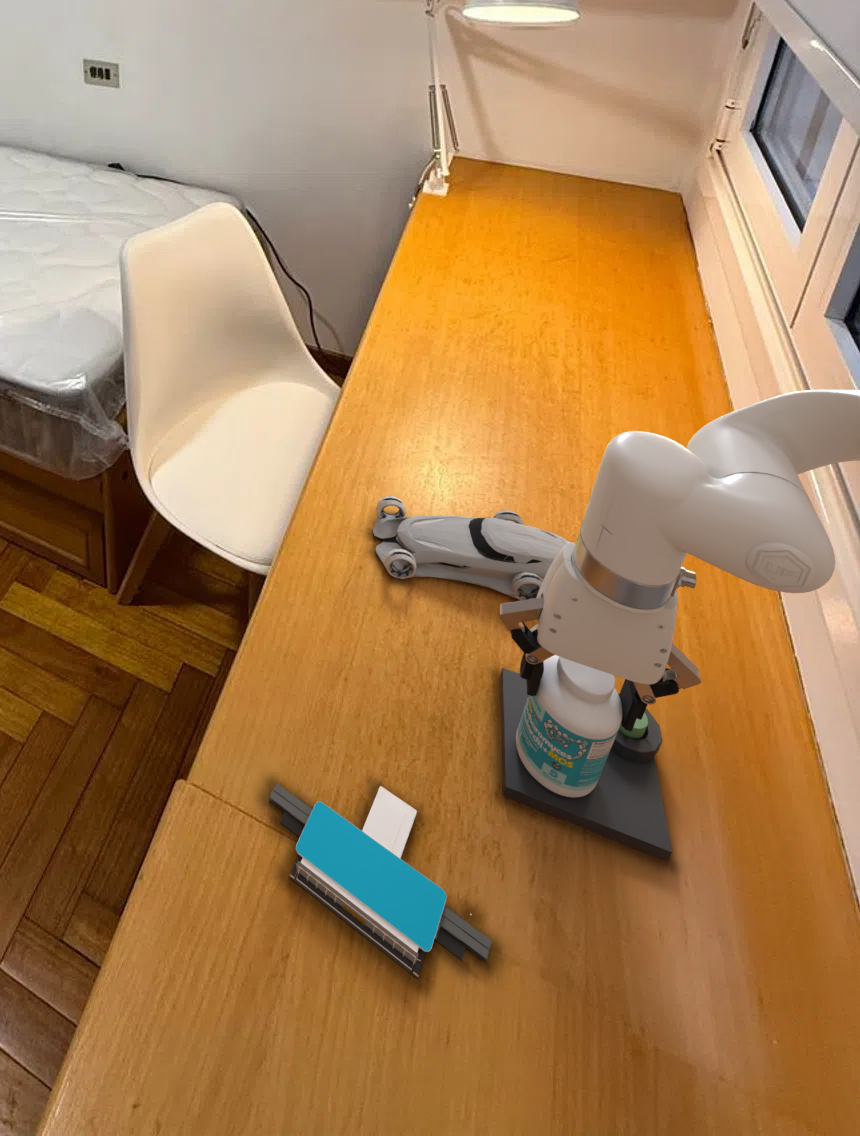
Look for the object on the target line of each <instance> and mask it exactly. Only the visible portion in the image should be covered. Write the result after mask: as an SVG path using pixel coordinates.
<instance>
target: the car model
mask: <svg viewBox="0 0 860 1136" xmlns="http://www.w3.org/2000/svg"><path fill="white" fill-rule="evenodd" d="M390 506H391V507H396V509H398V511H397V512H395V513H388V512H386V511H385V510H384V509H386V508H387V507H390ZM406 507H407V506H405V504H404V502H403V501H402V500H401V498H399V497H398V496H393V495H385V496H383V497H381V498H380V499H379V500H378V502H377V505H376V520H375V523H374V526H373V530H372V533H373V535H374V537H375V538H377V539H379V540H381V541H382V542H381V543H379V544H377V545H376V546H375V553H376V555H377V556H378V558H379V559H380V561H381V563H382V564H383V565H384V568H385V569H386V571H387V573H388V574H389V575H390V576H391V577H393V578H395V579H400V580H404V579H409V578H435V579H443V580H451V581H459V582H463V583H468V584H472V585H476V586H481V587H485V588H489V589H492V590H494V591H497V592H499V593H501V594H504V595H506V596H508V597H512V598H514V599H515V600H516V599H517V600H518V601H521V600H528V599H534V598H536V597H537V594H538V592H539V589H540V587H541V584H542V582H543V580H544V578H545V576H546V573H547V571H548V569H549V568H550V566H551V564H552V562H553V560H554V559H555V557H556V556H557V554H558V553H559V551H560V550H561V549H562V548H563V546H564V545H565V544H566V543H568V542H570V541H569V540H567V539H566V538H564V537H563V536H560V535H559V534H556V533H554V532H551V531H548V530H544V529H542V528H538V527H535V526H531V525H526V524H525V523H524V521H523V518H522V517H521V516H520V515H519V514H518V513H517V512H515V511H513V510H509V509H503V510H499V511H498V512H496V513H495V514H494V515H493V517H476V516H475V517H474V516H463V515H447V514H445V515H442V514H440V515H439V514H438V515H436V514H435V515H413V516H406V514H407V508H406Z"/></svg>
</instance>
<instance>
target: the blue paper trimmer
mask: <svg viewBox="0 0 860 1136" xmlns="http://www.w3.org/2000/svg"><path fill="white" fill-rule="evenodd" d="M268 801H269V802H271V803H272V804H273V805H274V806H276V807H277V808H279V809H280V810H281V811H283V814H282V816H281V818H280V820H279V823H280V824H281V825H283V826H284V827H285V828H287V829H288V830H289V831H291V832H292V833H293V834H295V836H297V837H298V840H297V842H296V845H295V851H296V853H297V857H296V860H295V862H294V864H293V866H292V867H291V870H290V872H289V875H288V878H289V879H291V880H292V881H293V882H294V883H295V884H296V885H298V886H299V887H300V888H302V889H303V890H304V891H306V893H308V894H310V895H311V896H312V897H314V899H316V900H317V901H318V902H319V903H321V905H323V906H324V907H326V908H327V909H328V910H330V911H331V912H332V913H333V914H334V915H336V916H337V917H338V918H339V919H341V920H342V921H344V922H345V923H346V924H347V925H348V926H350V927H351V928H352V929H354V930H355V931H356V932H357V933H359V934H360V935H361V936H362V937H364V938H365V939H366V940H367V941H369V942H370V943H371V944H372V945H373V946H375V947H376V948H377V949H379V950H380V951H381V952H383V953H384V954H385V955H386V956H388V957H389V958H390V959H391V960H393V961H394V962H395V963H396V964H397V965H399V966H400V967H401V968H403V969H404V970H405V971H406V972H408V973H409V974H410V975H412V976H413V977H414V978H415V979H417V980H419V976H420V973H421V969H422V966H423V963H424V960H425V956H426V954H427V953H429V952H431V951H432V948H433V945H434V941H435V942H437V943H438V944H439V945H441V946H442V947H443V948H444V949H446V950H447V951H449V952H450V953H451V954H452V955H454V956H455V957H457V958H458V959H460V960H461V961H463V958H464V955H465V951H466V949H467V950H468V951H469V952H471V953H472V954H474V955H475V956H476V957H478V958H479V959H481V961H483V962H485V963H487V960H488V957H489V954H490V949H491V946H492V941H493V940H492V939H490V938H489V937H488V936H486V934H484V933H482V932H481V931H479V930H478V929H477V928H475V927H474V926H473V925H471V924H470V923H469V922H467V921H466V919H464V918H463V917H461V916H460V915H459V914H458V913H456V912H455V911H453V910H452V909H451V908H449V907H448V906H447V905H446V903H447V893H446V891H445V890H444V889H443V888H442V887H440V885H437V884H436V883H435V882H434V881H433V880H431V879H429V878H428V877H427V876H425V875H424V874H423V873H421V872H420V871H418V870H417V869H415V868H414V867H413V866H412V865H410V864H409V863H407V862H406V861H405V860H403V859H402V856H403V852H404V850H405V847H406V845H407V842H408V838H409V837H410V834H411V830H412V828H413V825H414V822H415V819H416V817H417V814H418V810H417V809H415V808H414V807H412V806H411V805H409V804H408V803H407V802H405V801H404V800H402V799H401V798H399V797H398V796H396V795H395V794H393V793H392V792H391V791H389V790H388V789H386V788H384V787H383V786H381V785H380V786H379V788H378V790H377V793H376V795H375V798H374V799H373V802H372V805H371V808H370V810H369V811H368V812H369V813H368V815H367V817H366V819H365V822H364V825H363V827H362V829H360V828H359V827H358V826H356V825H355V824H353V822H350V821H349V820H348V819H346V818H345V817H344V816H342V815H341V814H339V813H338V812H337V811H336V810H334V809H332V808H331V807H330V806H328V804H326V803H324V802H322V801H321V800H320V801H319V800H318V801H316V802H315V804H314V805H313V808H312V807H311V806H310V805H308V804H307V803H306V802H304V801H303V800H302V799H300V798H299V797H296V796H295V795H294V794H292V792H289V790H287V789H286V788H284V787H282V786H281V785H280V784H279V783H277V782H276V783H275V784H274V787H273V789H272V790H271V792H270V795H269V800H268ZM469 915H470V916H473V915H472V913H470V914H469Z"/></svg>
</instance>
